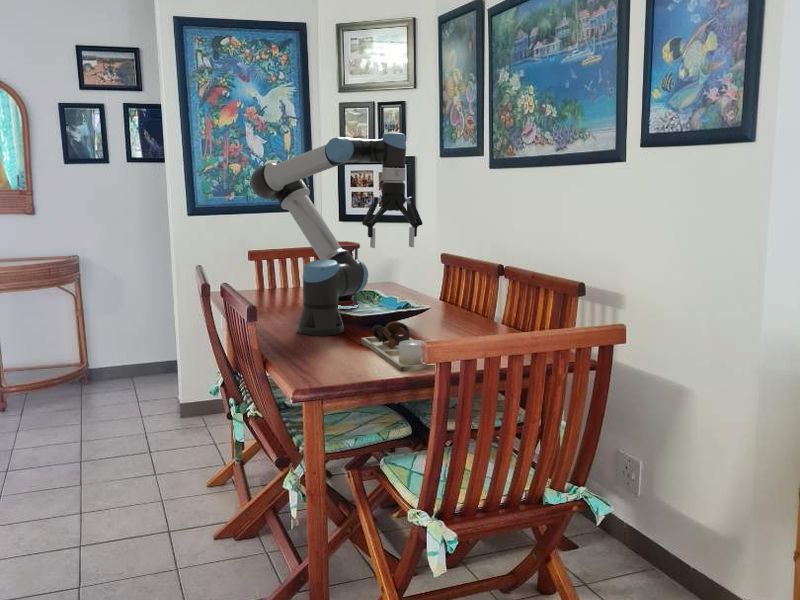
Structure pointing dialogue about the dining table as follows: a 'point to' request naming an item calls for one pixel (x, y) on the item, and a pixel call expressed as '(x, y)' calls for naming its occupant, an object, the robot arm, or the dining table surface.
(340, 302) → the hourglass
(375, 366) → the dining table surface
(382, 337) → the dark brown looped part
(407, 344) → the grey short cylinder
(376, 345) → the tray
